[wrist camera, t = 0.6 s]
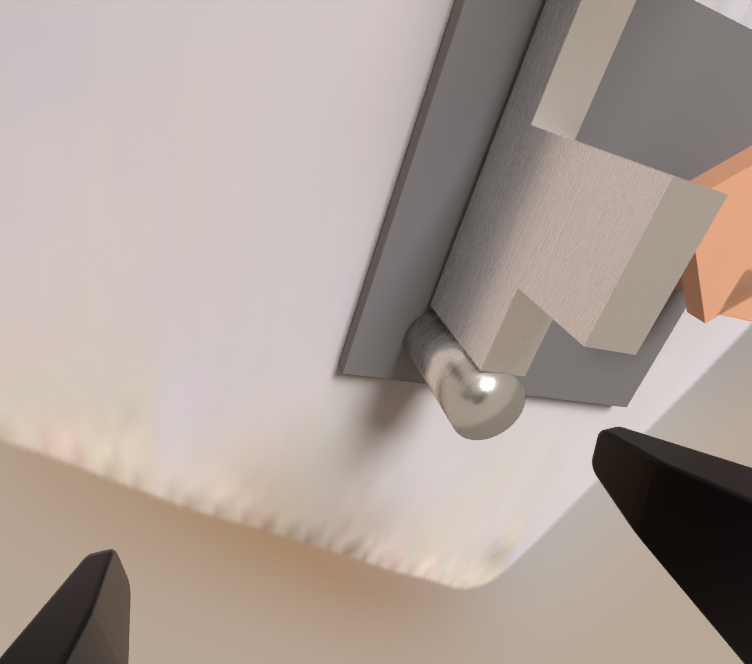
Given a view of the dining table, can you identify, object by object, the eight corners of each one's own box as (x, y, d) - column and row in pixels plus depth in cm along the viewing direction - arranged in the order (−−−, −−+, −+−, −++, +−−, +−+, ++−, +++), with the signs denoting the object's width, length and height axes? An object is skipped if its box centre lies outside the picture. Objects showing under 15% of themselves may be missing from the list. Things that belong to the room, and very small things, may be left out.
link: (397, 361, 24) (482, 512, 17) (545, -36, 18) (776, -63, 11) (454, 368, 25) (557, 514, 18) (612, -4, 19) (864, -9, 12)
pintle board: (338, 363, 24) (364, 430, 21) (486, -96, 17) (567, -124, 14) (617, 398, 30) (677, 455, 26) (810, 66, 23) (930, 78, 20)
